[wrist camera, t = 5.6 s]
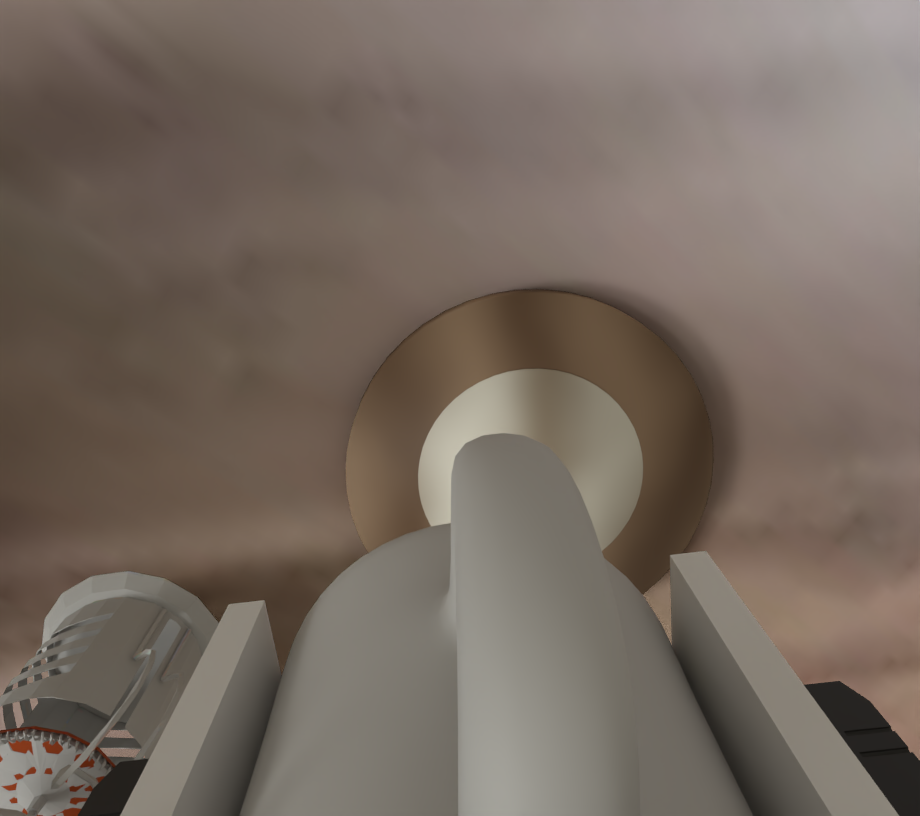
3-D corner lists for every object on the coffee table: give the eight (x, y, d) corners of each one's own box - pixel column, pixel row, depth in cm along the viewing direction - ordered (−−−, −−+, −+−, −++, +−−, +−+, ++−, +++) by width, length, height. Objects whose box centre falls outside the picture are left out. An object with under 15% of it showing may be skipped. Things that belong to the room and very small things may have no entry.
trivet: (371, 636, 38) (367, 669, 35) (324, 307, 32) (314, 317, 30) (701, 605, 38) (720, 635, 35) (708, 272, 33) (732, 279, 30)
